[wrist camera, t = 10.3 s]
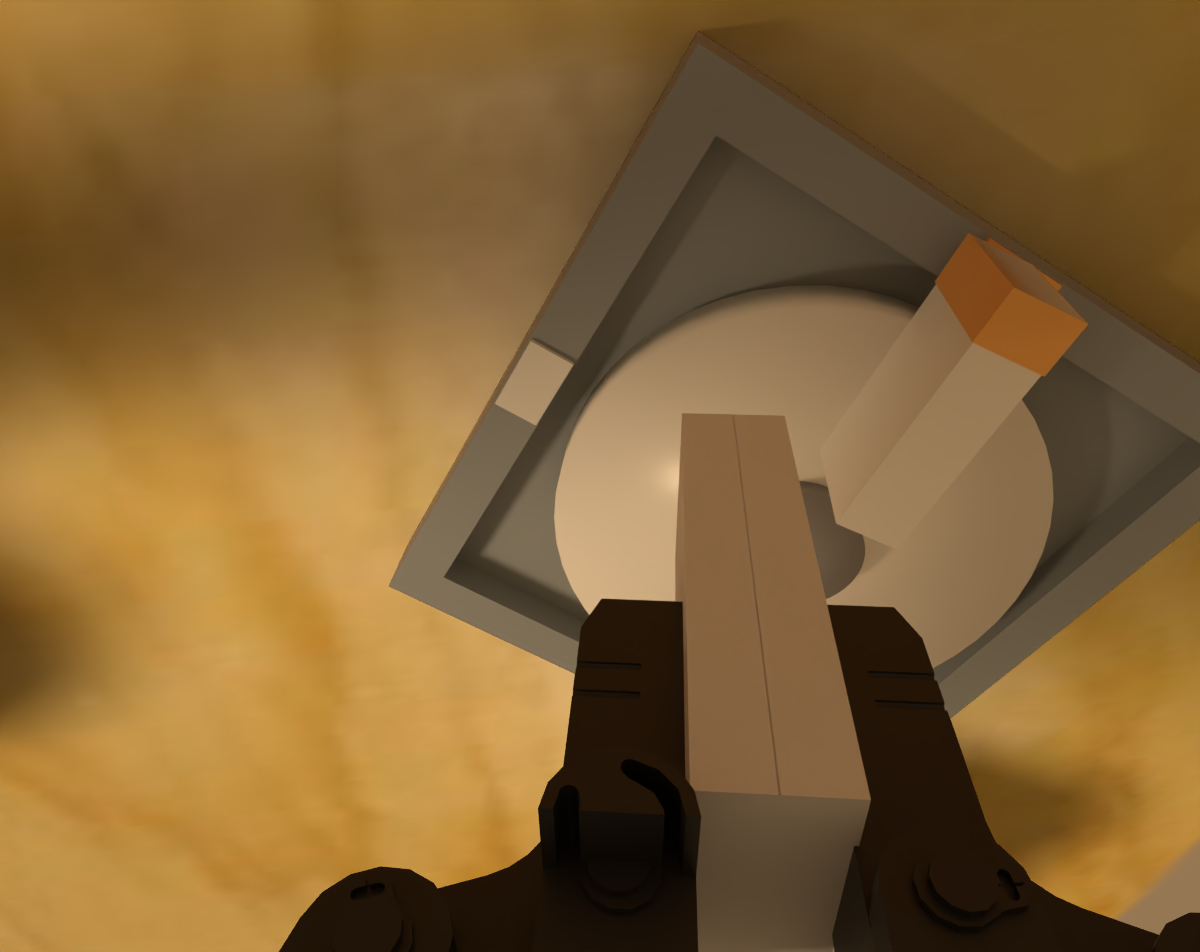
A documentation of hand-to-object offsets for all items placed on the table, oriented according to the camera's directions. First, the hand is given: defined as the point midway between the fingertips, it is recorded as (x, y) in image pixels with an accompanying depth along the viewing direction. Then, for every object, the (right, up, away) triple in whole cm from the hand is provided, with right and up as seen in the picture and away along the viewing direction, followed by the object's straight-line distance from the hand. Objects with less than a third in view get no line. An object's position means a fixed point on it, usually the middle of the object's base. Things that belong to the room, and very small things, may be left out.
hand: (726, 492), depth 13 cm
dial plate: (+4, 0, +16) cm, 17 cm away
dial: (+5, 0, +14) cm, 15 cm away
